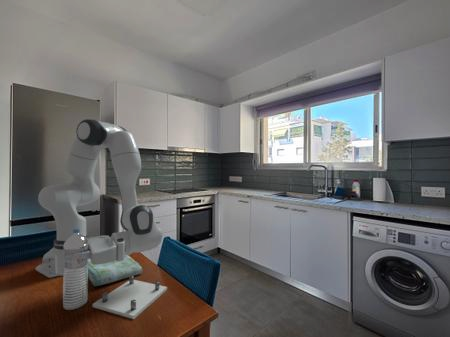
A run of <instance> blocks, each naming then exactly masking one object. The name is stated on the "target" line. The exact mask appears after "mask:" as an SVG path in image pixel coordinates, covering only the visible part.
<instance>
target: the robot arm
mask: <svg viewBox="0 0 450 337" xmlns="http://www.w3.org/2000/svg"><path fill="white" fill-rule="evenodd" d="M102 149H108V150H109V154H110V159H111V164H112V167H113V170H114V174H115V176H116V180H117V185H118V188H119V194H120V200H121V205H122V207H121V208H122V211H121V215H120V219H119V220H120V226H121V228H122V229H123V230H124V231H119V232H112V234H111V236H109V235H107V234H106V235H95V236H89V237H88V235H87V219H86V217H85V216H83V215H81V214H79V213H78V210H77V207H81V206H82V207H83V206H87V205H90V204H92V203H95V202H97V201H98V200H99V199H100V197H101V196H100V195H101V190H100V187H99V186H98V184H96V182H95V172H96V167H97V163H98V160H99V158H100V154H101V151H102ZM65 163H66V164H65V171H66V172H67V174H69V175H70V176H71V177H72V181H71V183H57V184H52V185H48V186H44V187H43V188H42V189H41V190H40V192H39V193H38V197H37V198H38V203H39V205H40V206H41V207H42V208H43V209H45V210H47V211H48V212H49V213H51V215H52V216H53V218H54V221H55V224H56V225H55V226H56V238H55V239H54V240H53V247H52V248H51V249H49V251H47V252H46V253H45V254H44V255H43V257H42V260H41V262H42V263H40V264H39V265H38V266H36V267H35V271H36V272H38V273H40V274H42V275H44V276H45V277H47V278H48V279H49V278H54V277H59V276H60V277H61V276H63V268H64V243H65V241H66V240H67V239H68V238H69V237H70V236H72V235H73V234H74V233H73V230H74V229H80V232H79V233H80V234H82V235H84V236H85V237H86V238H87V239H88V251H87V252H83V253H80V252H78V253H74V254H73V260H78V259H88V263H89V262H90V261H91V262H92V264H104V263H109V262H113V261H116V260H117V261H118V262H119V261H123V260H124V257H125V256H126V255H128V256H130V255H131V254H134V253H144V252H148V251H150V250H151V251H152V250H153V249H156V248H158V247H159V246H160V244H161V242H162V240H163V232H162V231H163V230H162V228H161V227H159V225H158V224H157V222H156V220H155V218H154V214H153V211H152V209H151V208H150V207H149V206H147V205H144V204H139V203H138V197H137V191H136V190H137V189H136V186H137V185H136V184H137V181H138V177H139V176H140V174H141V172H142V158H141V154H140V150H139V147H138V144H137V142H136V139H135V137H134V135H133V134H132V133H131V132H130V131H128V130H127V129H126V128H124V127H122V126H120V125H116V124H113V123H110V122H106V121H99V120H96V119H92V118H91V119H83V120H81V121H80V122H79V123H78V125H77V127H76V137H75V138H74V141H73V142H72V145H71V147H70V150H69V154H68V156H67V160H66V162H65Z"/></svg>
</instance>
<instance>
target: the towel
mask: <svg viewBox="0 0 450 337" xmlns="http://www.w3.org/2000/svg"><path fill="white" fill-rule="evenodd" d="M142 273H143V267H142V266H141V265H140V263H139V262H137V261H135V259H134V258H132V257H131V256H130V255H126V256H125V257H124V260H123V261H119V262H118V261H117V260H116V261H113V262H109V263H104V264H92V262H91V261H90V262H89V263H88V280H89V282H91V284H92V285H93V287H99V286H103V285H107V284H110V283H114V282H117V281H122V280H125V279H127V278H128V279H129V277H130V276H134V277H135V276H138V275H141V274H142Z"/></svg>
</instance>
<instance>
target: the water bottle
mask: <svg viewBox="0 0 450 337" xmlns="http://www.w3.org/2000/svg"><path fill="white" fill-rule="evenodd" d="M79 232H80V229H74V230H73V233H74V234H73V235H72V236H70V237H69V238H68V239H67V240H66V241H65V243H64V268H63V275H62V278H63V279H62V307H63V309H64V310H67V311H74V310H77V309H79V308H81V307H83V306H85V305H86V303H87V302H88V295H89V294H88V293H89V291H88V289H89V277H88V259H78V260H73V254H74V253H78V252H80V253H83V252H87V251H88V239H87V238H88V237H87V238H86V237H85V236H84V235H82V234H80V233H79Z"/></svg>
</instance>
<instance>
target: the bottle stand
mask: <svg viewBox="0 0 450 337" xmlns="http://www.w3.org/2000/svg"><path fill="white" fill-rule="evenodd" d="M160 283H161V282H160V281H158V280H157V281H155V282H154V283H152V282H151V283H150V282H146V281H141V280H137V279H135V276H130V277H128V281H126V282H124V283H123V284H122V285H120V286H118V287H116V288H115V289H113V290H112V291H111V292H109V293H108V292H103V293H102V296H101V298H100V299H98V300H96V301H95V302H94V303H92V308H94V309H98V310H102V311H105V312H108V313H111V314H114V315H119V316H121V317H124V318H125V317H126V318H128V319H131V320H135V319H136V318H137V317H138V316H139V315H141V313H143V312H144V311H145V310H146V309H147V308H148V307H149V306H150V305H152V304H153V303H154V302H155V301H156V300H158V299H159V297H161V296H162V295H163V294H164V293H165V292H167V290H168V286H165V285H164V286H163V285H161V284H160Z"/></svg>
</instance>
